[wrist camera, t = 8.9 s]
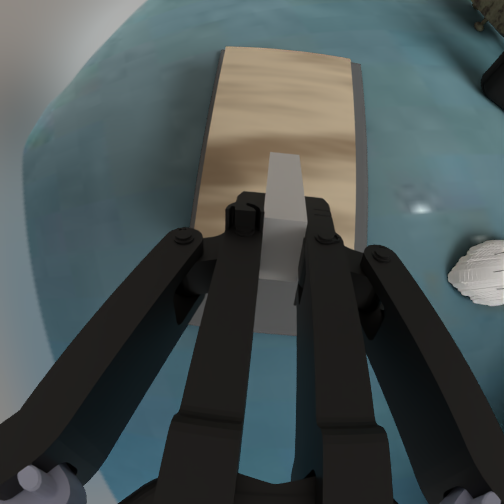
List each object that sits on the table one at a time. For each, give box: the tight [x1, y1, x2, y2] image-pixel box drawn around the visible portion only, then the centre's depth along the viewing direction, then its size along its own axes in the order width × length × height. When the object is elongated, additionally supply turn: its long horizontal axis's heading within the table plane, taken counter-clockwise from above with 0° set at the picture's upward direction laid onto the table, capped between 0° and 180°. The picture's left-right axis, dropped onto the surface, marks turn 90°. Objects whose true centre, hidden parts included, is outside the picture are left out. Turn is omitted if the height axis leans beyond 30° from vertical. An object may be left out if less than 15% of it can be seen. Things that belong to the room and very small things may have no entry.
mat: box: [188, 50, 368, 336], centre depth 26 cm, size 26×14×1 cm, turn 175°
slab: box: [194, 47, 356, 250], centre depth 23 cm, size 5×10×16 cm
